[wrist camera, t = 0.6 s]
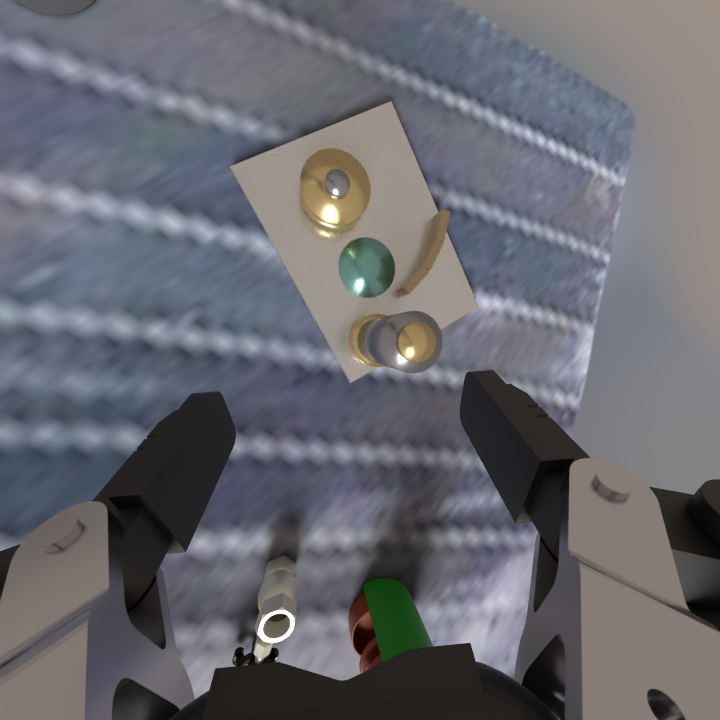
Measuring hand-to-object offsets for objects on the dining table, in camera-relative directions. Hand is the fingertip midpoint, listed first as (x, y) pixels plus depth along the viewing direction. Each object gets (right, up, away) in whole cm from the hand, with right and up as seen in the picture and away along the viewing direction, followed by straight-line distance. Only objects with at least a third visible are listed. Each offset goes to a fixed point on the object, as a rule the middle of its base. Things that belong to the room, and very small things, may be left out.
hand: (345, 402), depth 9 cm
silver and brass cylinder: (+2, +4, +22) cm, 23 cm away
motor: (+3, -32, +27) cm, 42 cm away
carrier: (+1, +14, +23) cm, 27 cm away
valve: (-10, -27, +24) cm, 38 cm away
